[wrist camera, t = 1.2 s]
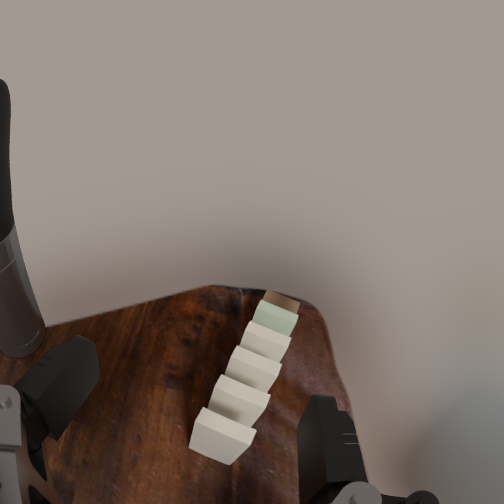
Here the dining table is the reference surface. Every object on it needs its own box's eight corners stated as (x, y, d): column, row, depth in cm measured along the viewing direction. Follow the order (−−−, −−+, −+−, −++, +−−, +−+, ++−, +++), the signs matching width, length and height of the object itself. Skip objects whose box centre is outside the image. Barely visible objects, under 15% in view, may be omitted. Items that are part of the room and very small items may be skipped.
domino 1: (239, 354, 39) (256, 307, 33) (243, 346, 40) (261, 299, 34) (271, 368, 38) (295, 323, 32) (274, 359, 39) (298, 315, 34)
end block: (248, 332, 42) (255, 312, 40) (260, 308, 47) (267, 289, 45) (281, 346, 41) (291, 328, 39) (290, 321, 46) (300, 302, 44)
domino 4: (203, 421, 29) (214, 386, 23) (208, 411, 30) (221, 374, 25) (241, 438, 28) (265, 408, 22) (246, 428, 29) (270, 395, 24)
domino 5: (188, 447, 25) (195, 420, 20) (194, 437, 27) (203, 406, 21) (229, 465, 25) (250, 445, 19) (234, 454, 26) (256, 430, 20)
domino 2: (228, 374, 35) (245, 329, 30) (232, 366, 37) (250, 320, 31) (262, 389, 34) (287, 347, 29) (266, 380, 36) (291, 337, 30)
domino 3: (216, 397, 32) (231, 356, 26) (221, 388, 33) (236, 345, 28) (252, 413, 31) (277, 376, 26) (256, 403, 32) (281, 364, 27)
